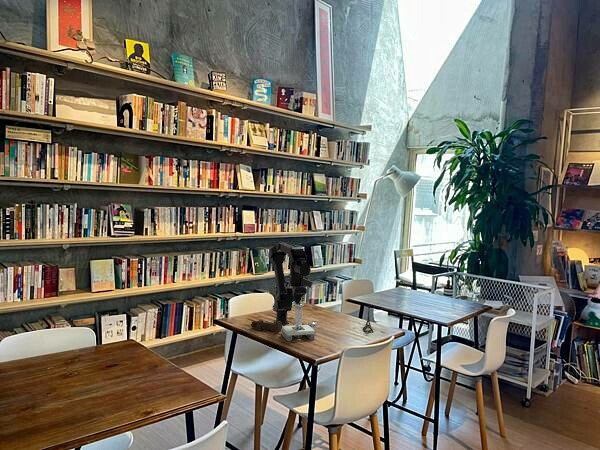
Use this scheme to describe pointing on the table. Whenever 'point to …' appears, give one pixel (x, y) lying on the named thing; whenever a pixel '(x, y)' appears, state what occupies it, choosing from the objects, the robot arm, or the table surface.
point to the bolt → (267, 325)
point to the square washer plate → (297, 332)
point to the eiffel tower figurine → (368, 326)
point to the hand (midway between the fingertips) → (294, 304)
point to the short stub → (313, 325)
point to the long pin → (298, 318)
